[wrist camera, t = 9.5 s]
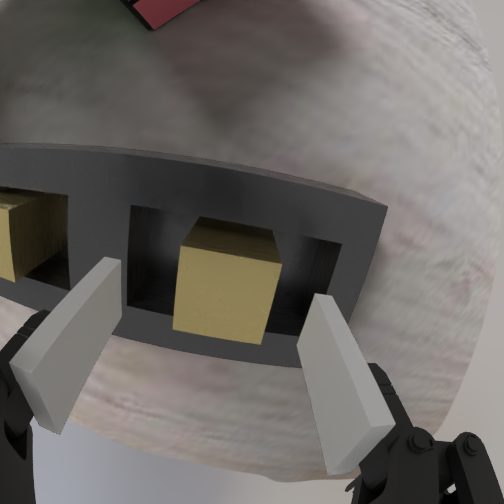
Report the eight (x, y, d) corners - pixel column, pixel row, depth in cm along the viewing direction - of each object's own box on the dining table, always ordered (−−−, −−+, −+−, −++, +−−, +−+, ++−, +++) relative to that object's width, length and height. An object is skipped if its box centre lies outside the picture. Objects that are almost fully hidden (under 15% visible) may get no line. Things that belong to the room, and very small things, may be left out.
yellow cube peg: (22, 185, 17) (-31, 202, 11) (62, 190, 17) (8, 209, 11) (23, 239, 18) (-24, 267, 13) (62, 248, 19) (15, 282, 13)
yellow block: (200, 214, 18) (180, 245, 12) (271, 227, 18) (282, 264, 13) (191, 278, 20) (172, 329, 14) (256, 290, 20) (260, 344, 14)
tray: (-5, 143, 16) (-44, 149, 11) (355, 191, 19) (388, 206, 14) (-2, 258, 20) (-34, 279, 15) (313, 328, 22) (327, 369, 18)
